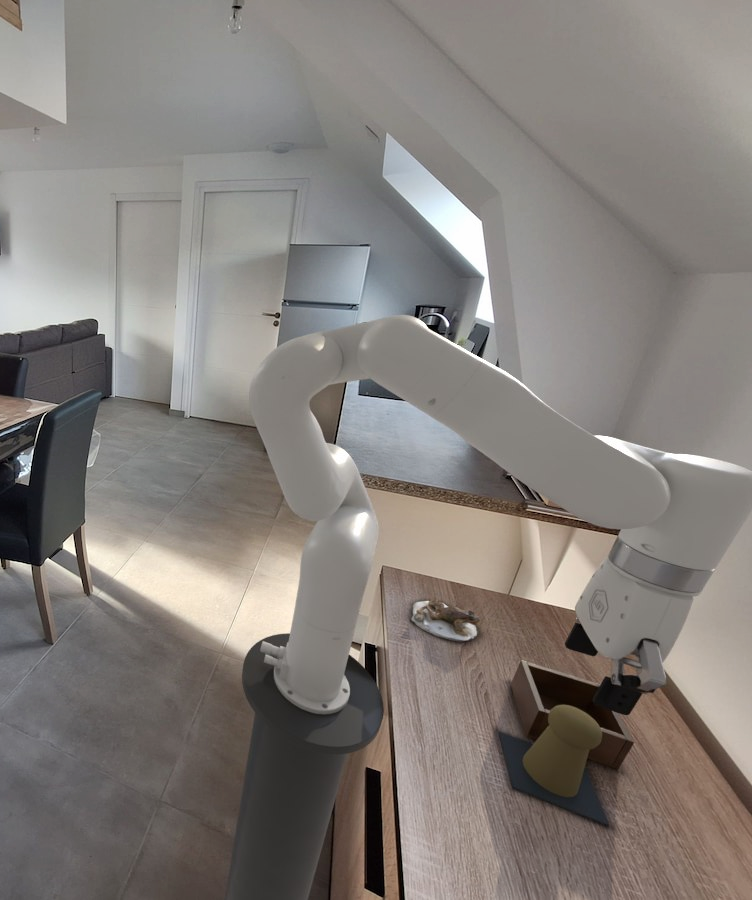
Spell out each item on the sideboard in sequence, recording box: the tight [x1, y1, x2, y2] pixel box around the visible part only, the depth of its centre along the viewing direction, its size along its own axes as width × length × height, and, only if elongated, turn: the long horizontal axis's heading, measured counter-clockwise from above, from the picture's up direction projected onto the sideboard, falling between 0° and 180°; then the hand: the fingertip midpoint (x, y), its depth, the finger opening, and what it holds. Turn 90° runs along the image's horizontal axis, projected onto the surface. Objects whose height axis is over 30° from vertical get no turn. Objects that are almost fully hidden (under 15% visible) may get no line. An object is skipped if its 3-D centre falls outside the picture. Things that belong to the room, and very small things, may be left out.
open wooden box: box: [510, 659, 635, 770], centre depth 69 cm, size 11×11×6 cm
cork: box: [523, 705, 602, 797], centre depth 61 cm, size 6×6×11 cm
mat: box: [498, 731, 610, 827], centre depth 63 cm, size 10×9×1 cm
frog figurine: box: [410, 597, 481, 642], centre depth 91 cm, size 12×12×4 cm
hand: (593, 677), depth 57 cm, fingers open, 9 cm apart
